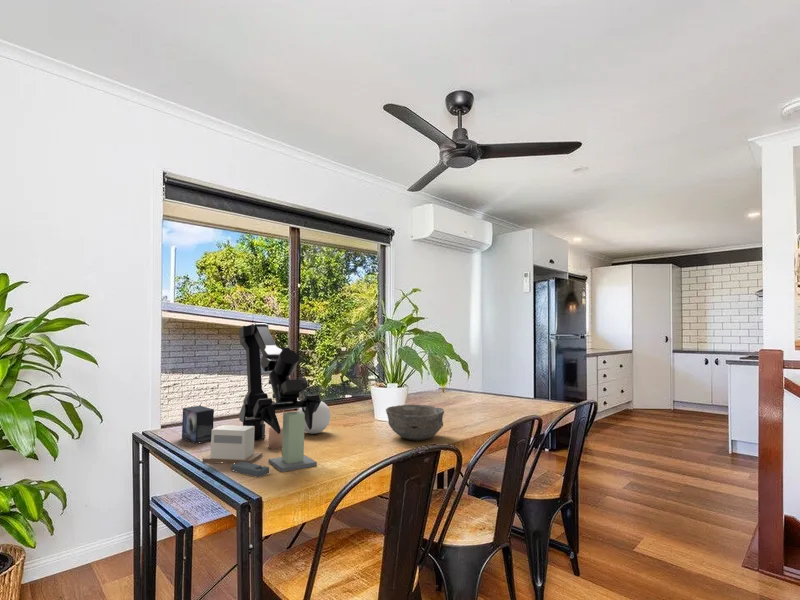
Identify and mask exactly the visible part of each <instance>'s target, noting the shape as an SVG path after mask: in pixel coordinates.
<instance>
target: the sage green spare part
mask: <svg viewBox="0 0 800 600" xmlns="http://www.w3.org/2000/svg"><path fill="white" fill-rule="evenodd" d="M304 424H305V414H304V413H302V412H299V410H297V411H290V412H289V411H287V412H283V413H282V426H283V438H282V448H281V457H282V460H283V461H284V462H286V463H288V464H290V463H296V462H301V461H303V460H304V455H305V454H304V453H305V451H304V450H305V431H304Z"/></svg>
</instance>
